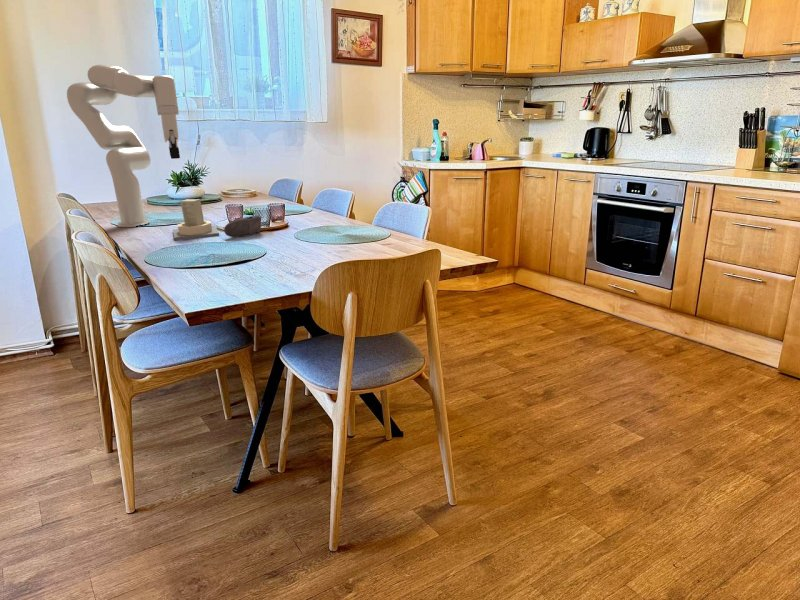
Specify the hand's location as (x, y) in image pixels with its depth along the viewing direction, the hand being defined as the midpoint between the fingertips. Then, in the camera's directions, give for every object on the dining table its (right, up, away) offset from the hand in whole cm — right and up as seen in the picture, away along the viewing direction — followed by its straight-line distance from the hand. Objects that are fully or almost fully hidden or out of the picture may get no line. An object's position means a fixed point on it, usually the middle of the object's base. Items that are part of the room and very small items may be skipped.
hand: (175, 157), depth 217 cm
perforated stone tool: (+28, -31, -4) cm, 42 cm away
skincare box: (+8, -29, +1) cm, 30 cm away
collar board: (+8, -29, +1) cm, 31 cm away
